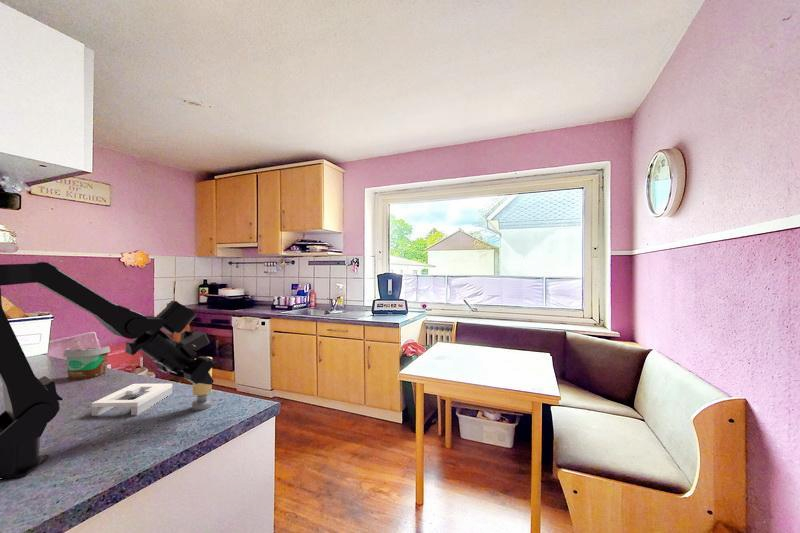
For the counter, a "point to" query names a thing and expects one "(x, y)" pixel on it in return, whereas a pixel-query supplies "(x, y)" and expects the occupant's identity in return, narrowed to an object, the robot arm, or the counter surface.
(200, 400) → the headed peg
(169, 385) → the keyhole plate
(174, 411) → the counter surface
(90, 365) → the food container
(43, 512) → the counter surface
